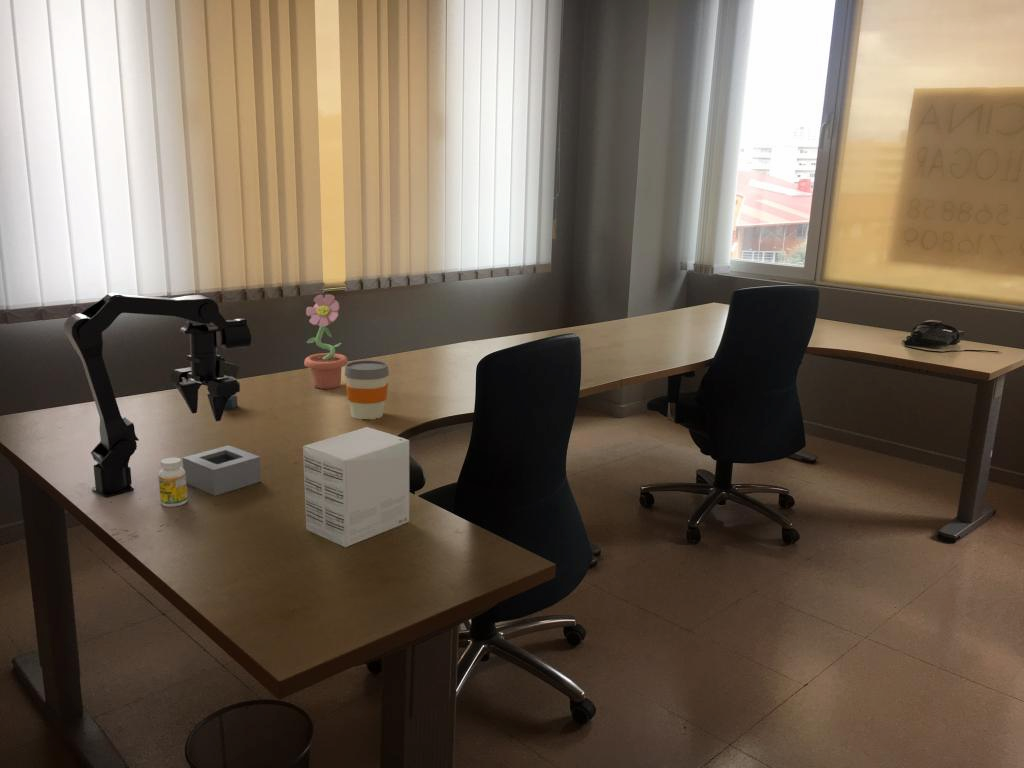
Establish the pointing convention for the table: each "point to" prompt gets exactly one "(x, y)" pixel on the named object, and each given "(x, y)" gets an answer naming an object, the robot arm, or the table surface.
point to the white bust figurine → (232, 400)
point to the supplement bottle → (172, 483)
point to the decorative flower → (325, 345)
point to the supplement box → (356, 485)
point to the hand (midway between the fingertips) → (206, 417)
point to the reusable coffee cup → (366, 388)
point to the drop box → (222, 470)
